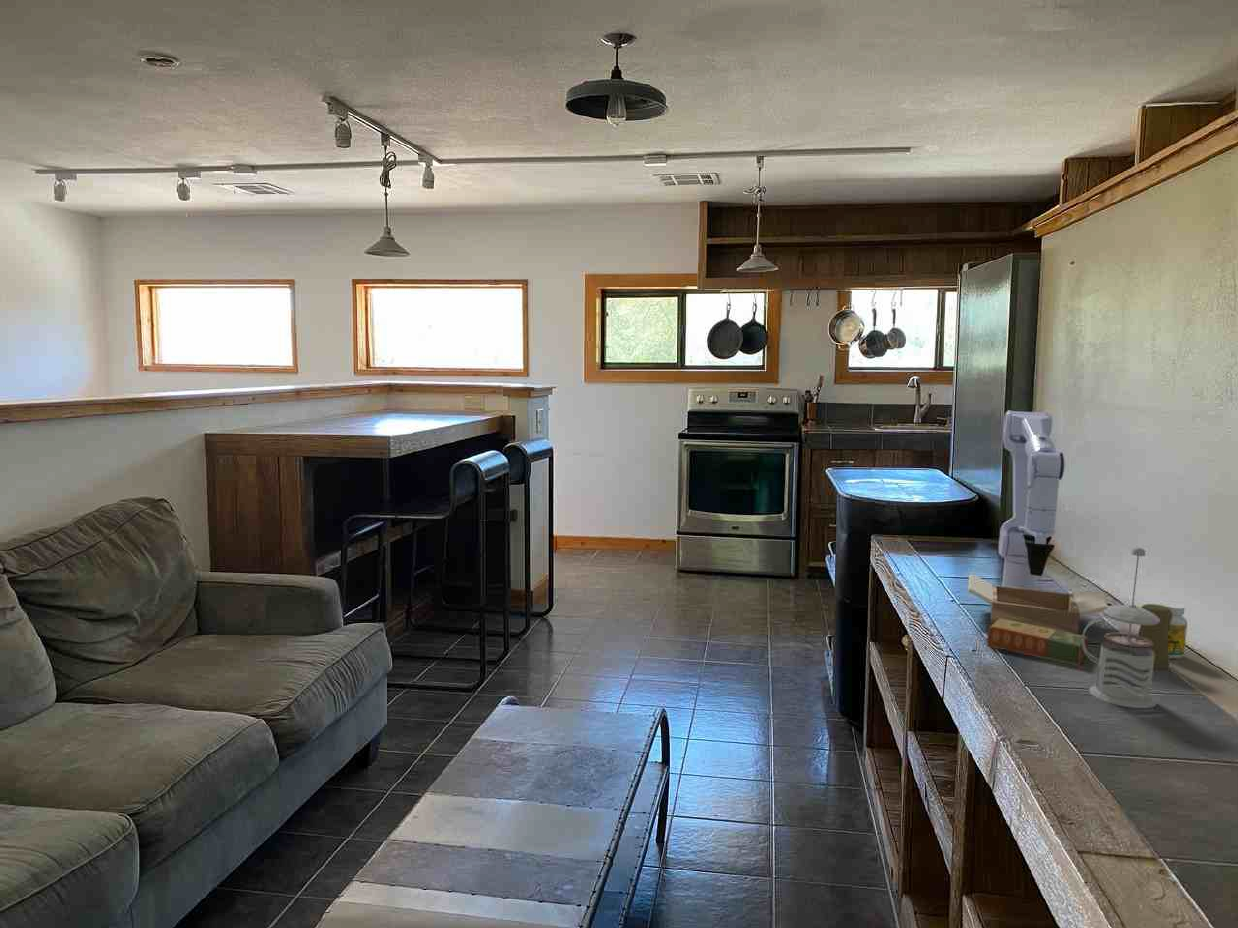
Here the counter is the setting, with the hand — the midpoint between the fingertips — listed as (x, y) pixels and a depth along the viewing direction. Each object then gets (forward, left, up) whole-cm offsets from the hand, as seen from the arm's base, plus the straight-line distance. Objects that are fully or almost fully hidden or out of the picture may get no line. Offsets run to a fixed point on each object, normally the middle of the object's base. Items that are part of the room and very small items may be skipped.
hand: (1035, 571), depth 192 cm
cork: (+23, +19, -10) cm, 31 cm away
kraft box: (+4, 0, -10) cm, 11 cm away
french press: (+44, +11, -10) cm, 46 cm away
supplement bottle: (+15, +23, -10) cm, 29 cm away
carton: (+25, 0, -10) cm, 27 cm away
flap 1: (+4, -10, -4) cm, 12 cm away
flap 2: (+4, +10, -4) cm, 12 cm away
